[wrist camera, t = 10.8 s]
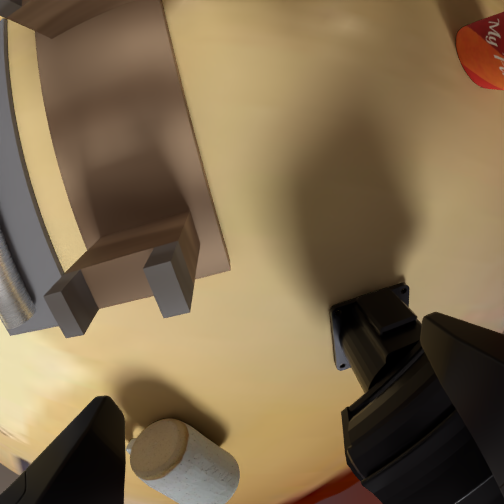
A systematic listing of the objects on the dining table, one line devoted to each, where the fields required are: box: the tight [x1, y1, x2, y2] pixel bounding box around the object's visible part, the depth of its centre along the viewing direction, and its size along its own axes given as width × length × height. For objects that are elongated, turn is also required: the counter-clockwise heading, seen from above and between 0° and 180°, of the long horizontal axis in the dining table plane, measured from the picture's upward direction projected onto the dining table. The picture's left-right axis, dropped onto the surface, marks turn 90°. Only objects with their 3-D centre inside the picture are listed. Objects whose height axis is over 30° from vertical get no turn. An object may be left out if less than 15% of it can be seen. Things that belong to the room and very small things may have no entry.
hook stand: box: [0, 0, 231, 338], centre depth 11 cm, size 21×8×8 cm, turn 14°
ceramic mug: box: [126, 419, 240, 504], centre depth 22 cm, size 11×8×8 cm
